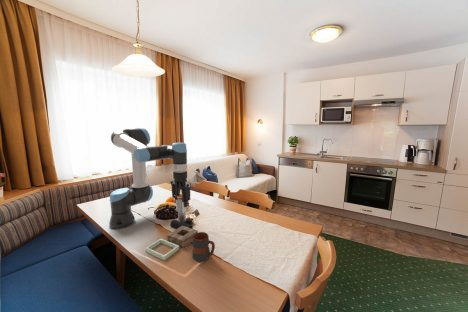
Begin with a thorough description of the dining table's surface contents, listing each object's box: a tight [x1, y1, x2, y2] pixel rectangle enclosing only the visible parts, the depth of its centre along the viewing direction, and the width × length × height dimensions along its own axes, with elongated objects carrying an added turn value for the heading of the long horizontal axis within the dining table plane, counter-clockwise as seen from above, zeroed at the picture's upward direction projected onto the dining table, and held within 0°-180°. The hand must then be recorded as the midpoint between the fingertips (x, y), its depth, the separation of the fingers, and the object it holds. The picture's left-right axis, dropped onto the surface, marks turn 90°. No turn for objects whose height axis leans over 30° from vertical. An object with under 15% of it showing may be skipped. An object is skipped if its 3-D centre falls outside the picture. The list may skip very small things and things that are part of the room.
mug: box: [192, 231, 216, 263], centre depth 97 cm, size 9×12×12 cm
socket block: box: [166, 226, 199, 248], centre depth 112 cm, size 12×12×5 cm
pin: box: [177, 193, 186, 222], centre depth 110 cm, size 5×5×15 cm
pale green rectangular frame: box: [144, 238, 180, 261], centre depth 102 cm, size 14×10×3 cm
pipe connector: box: [169, 216, 194, 230], centre depth 127 cm, size 12×5×15 cm
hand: (181, 211), depth 110 cm, fingers closed on pin, 4 cm apart
